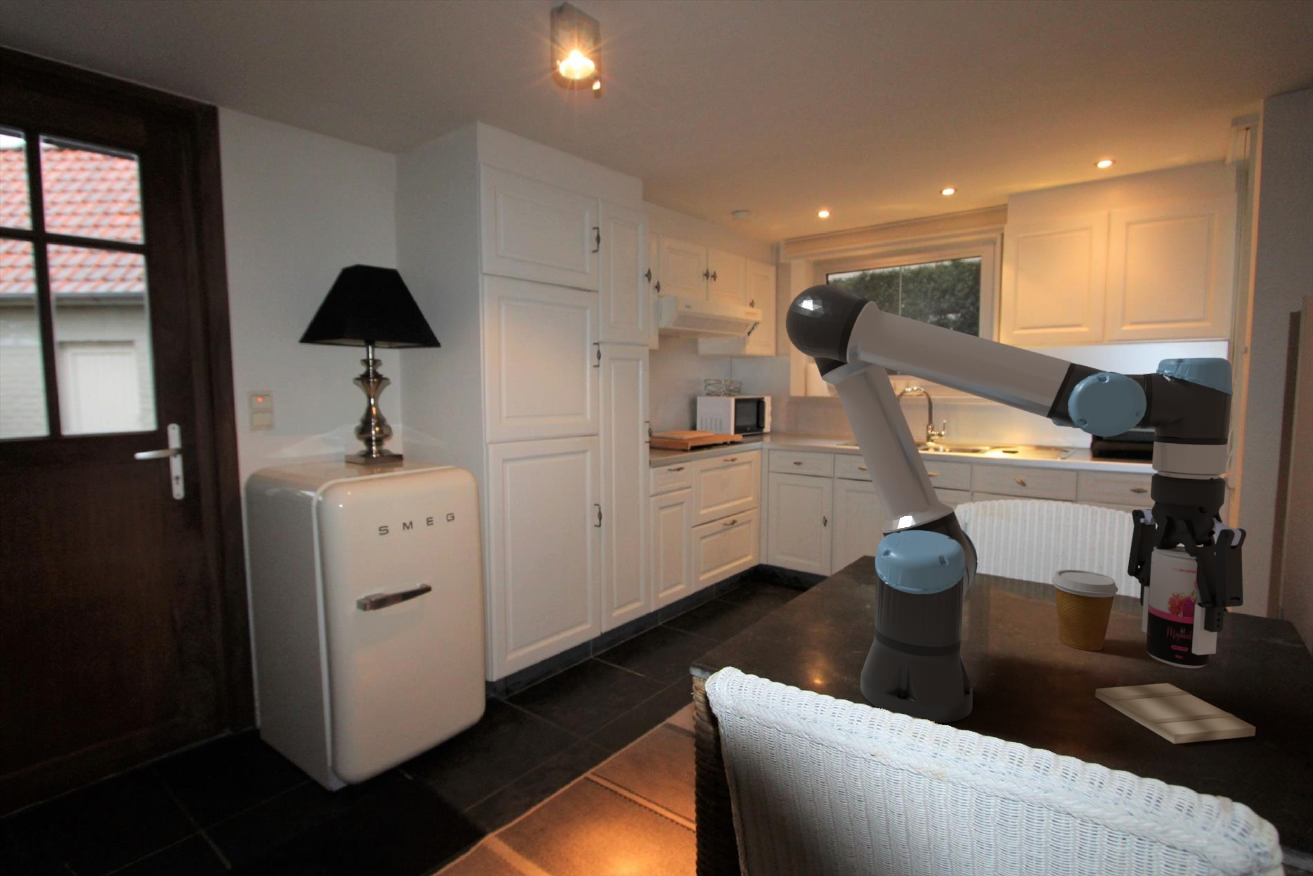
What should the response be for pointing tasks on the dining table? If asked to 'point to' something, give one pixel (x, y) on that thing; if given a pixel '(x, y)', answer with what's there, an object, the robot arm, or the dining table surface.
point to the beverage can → (1173, 608)
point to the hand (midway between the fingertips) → (1177, 641)
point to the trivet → (1174, 713)
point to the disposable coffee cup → (1083, 607)
